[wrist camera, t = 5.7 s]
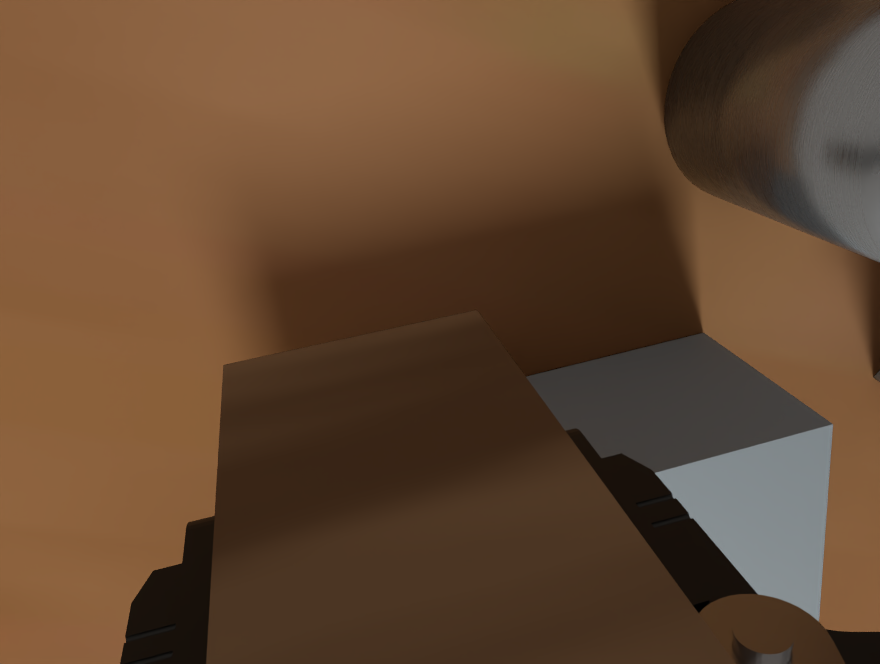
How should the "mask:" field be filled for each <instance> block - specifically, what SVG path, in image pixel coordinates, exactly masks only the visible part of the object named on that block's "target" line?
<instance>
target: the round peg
mask: <svg viewBox="0 0 880 664" xmlns="http://www.w3.org/2000/svg"><path fill="white" fill-rule="evenodd" d="M664 120H665V131H666V137H667V141H668V145H669V148H670V151H671V154H672V156H673V158H674V160H675V162H676V164H677V166H678V167H679V169H680V170H681V171H682V173H683V174H684V176H685V177H686V178H687V179H688V180H689V181H690V182H691V183H692V184H694V185H695V186H697V187H698V188H699V189H701V190H703V191H705V192H707V193H709V194H711V195H713V196H715V197H718V198H720V199H723V200H725V201H728V202H730V203H733V204H735V205H738V206H740V207H743V208H745V209H748V210H750V211H753V212H755V213H758V214H760V215H763V216H765V217H768V218H770V219H773V220H775V221H778V222H780V223H782V224H785V225H787V226H790V227H792V228H795V229H797V230H800V231H802V232H805V233H807V234H810V235H812V236H815V237H817V238H820V239H822V240H825V241H827V242H830V243H832V244H835V245H837V246H840V247H842V248H844V249H847V250H849V251H852V252H854V253H857V254H859V255H862V256H864V257H867V258H869V259H872V260H874V261H877V262H879V263H880V0H735V1H733V2H732V3H730V4H728V5H726V6H725V7H723V8H721V9H720V10H719V11H717V12H716V13H715V14H713V15H712V16H711V17H710V18H709V19H708V20H707V21H706V22H705V23H703V24H702V25H701V26H700V27H699V29H698V30H697V31H696V32H695V34H694V35H693V36H692V37H691V38H690V40H689V41H688V43H687V45H686V46H685V48H684V49H683V51H682V53H681V55H680V57H679V59H678V60H677V62H676V65H675V67H674V70H673V72H672V75H671V78H670V82H669V85H668V89H667V94H666V101H665V117H664Z"/></svg>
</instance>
